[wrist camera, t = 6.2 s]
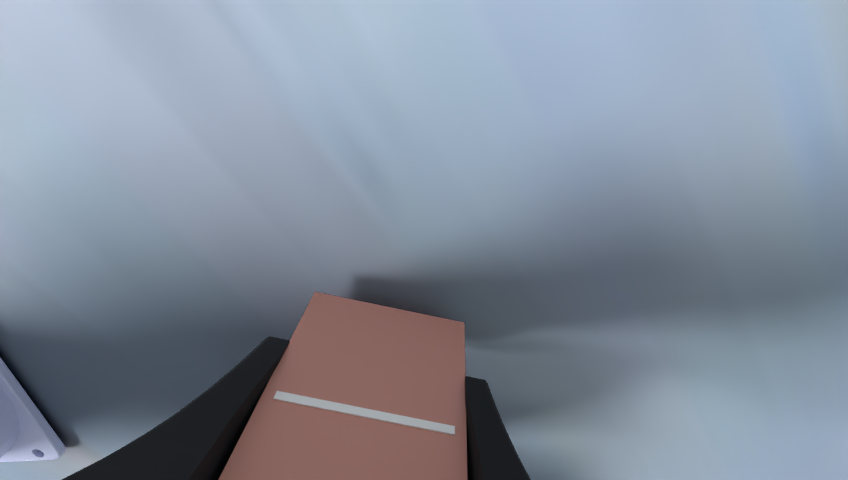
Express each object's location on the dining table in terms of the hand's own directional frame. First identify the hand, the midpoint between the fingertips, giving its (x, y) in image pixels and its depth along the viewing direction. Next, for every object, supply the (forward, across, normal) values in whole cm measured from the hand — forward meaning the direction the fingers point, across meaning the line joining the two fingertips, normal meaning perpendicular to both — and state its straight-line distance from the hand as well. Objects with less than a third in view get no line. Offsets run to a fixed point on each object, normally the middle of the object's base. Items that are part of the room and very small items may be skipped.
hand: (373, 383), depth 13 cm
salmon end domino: (+2, 0, 0) cm, 2 cm away
